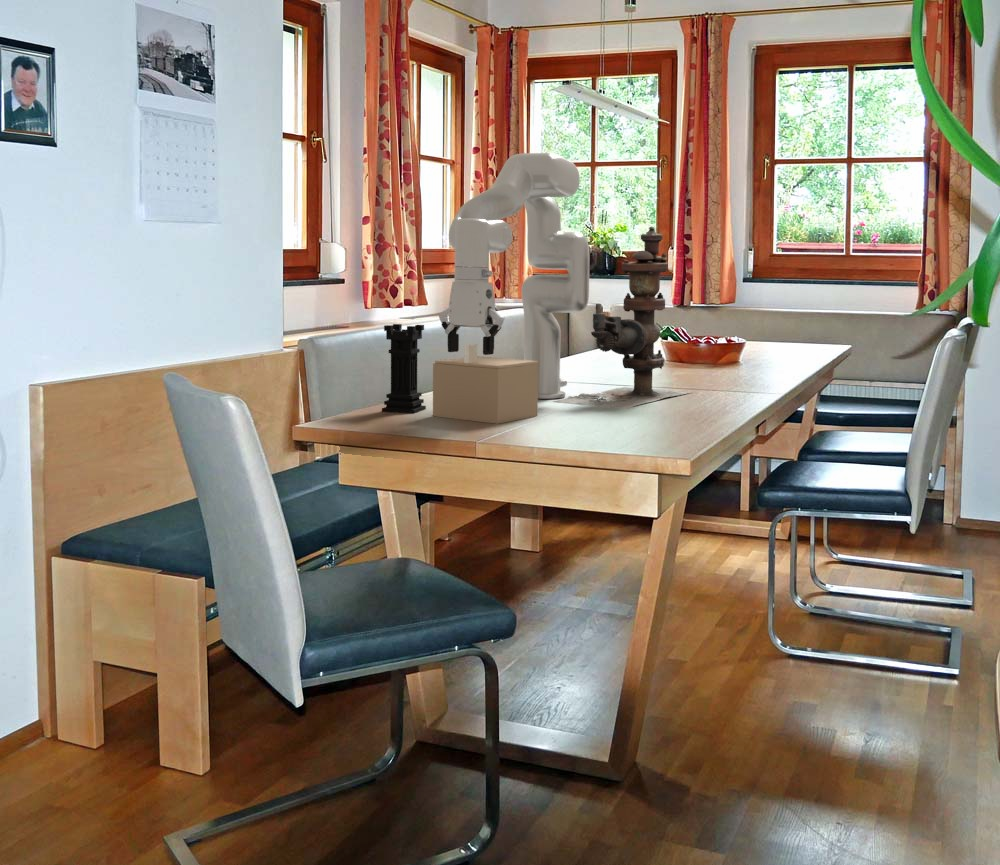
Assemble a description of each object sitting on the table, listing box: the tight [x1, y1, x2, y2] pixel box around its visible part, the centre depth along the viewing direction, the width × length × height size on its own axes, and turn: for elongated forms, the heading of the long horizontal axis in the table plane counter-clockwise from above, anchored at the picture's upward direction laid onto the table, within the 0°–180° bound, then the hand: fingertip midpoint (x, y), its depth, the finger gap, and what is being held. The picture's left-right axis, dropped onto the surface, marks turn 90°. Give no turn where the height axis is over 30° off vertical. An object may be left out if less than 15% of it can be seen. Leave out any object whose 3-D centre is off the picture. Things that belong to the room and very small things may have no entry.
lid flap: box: [434, 343, 538, 369], centre depth 253 cm, size 16×18×5 cm
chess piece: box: [381, 323, 427, 414], centre depth 261 cm, size 8×8×20 cm
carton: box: [432, 362, 539, 425], centre depth 255 cm, size 16×18×12 cm
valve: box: [552, 226, 693, 409], centre depth 291 cm, size 42×20×45 cm, turn 147°
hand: (470, 353), depth 248 cm, fingers open, 9 cm apart
